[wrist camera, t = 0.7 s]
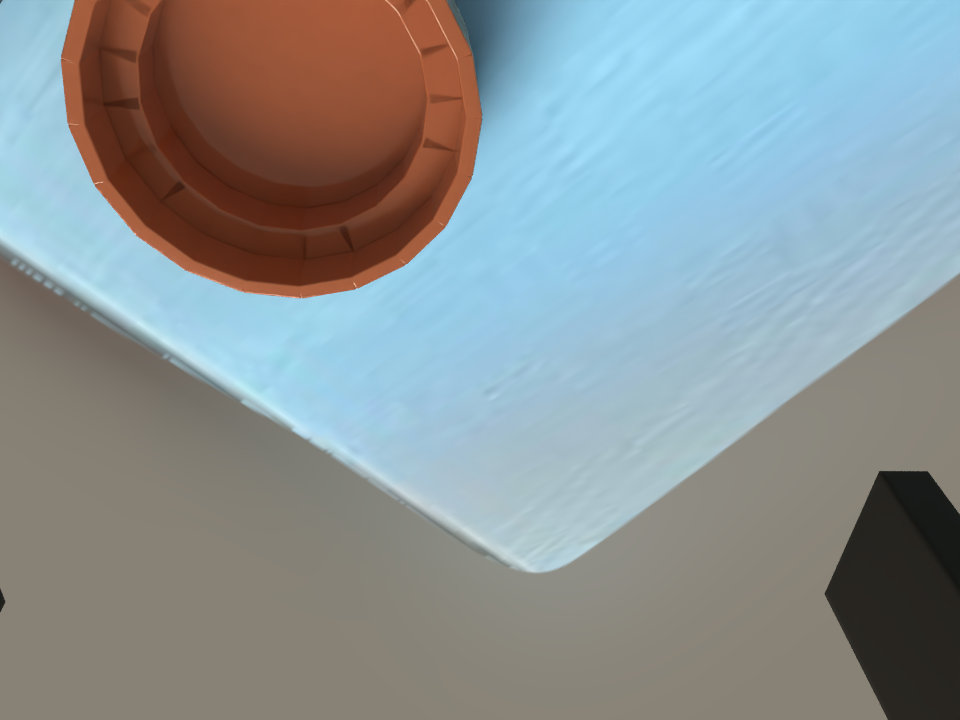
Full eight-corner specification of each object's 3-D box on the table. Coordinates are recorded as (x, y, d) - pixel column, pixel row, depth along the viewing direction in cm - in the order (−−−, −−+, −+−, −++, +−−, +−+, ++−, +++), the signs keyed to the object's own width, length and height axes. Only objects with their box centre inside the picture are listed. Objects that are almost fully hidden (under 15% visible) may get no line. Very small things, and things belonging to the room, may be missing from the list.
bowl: (90, -160, 29) (37, -149, 25) (499, -87, 31) (513, -67, 27) (119, 220, 37) (83, 276, 33) (445, 258, 39) (449, 314, 35)
